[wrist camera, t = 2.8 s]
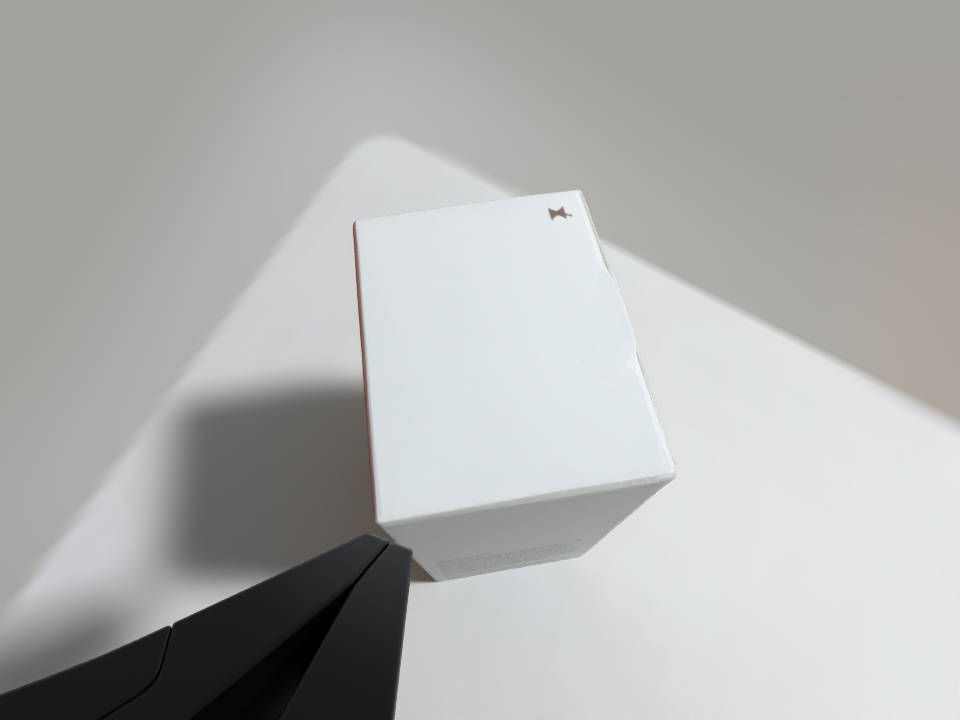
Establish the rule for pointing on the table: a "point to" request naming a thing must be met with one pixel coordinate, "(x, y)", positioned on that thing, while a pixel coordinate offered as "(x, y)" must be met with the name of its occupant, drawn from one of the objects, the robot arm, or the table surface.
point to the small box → (501, 385)
